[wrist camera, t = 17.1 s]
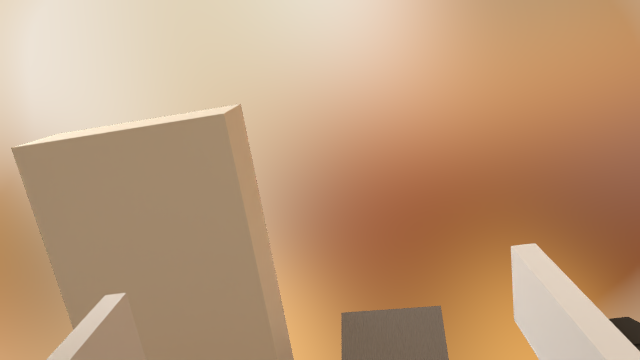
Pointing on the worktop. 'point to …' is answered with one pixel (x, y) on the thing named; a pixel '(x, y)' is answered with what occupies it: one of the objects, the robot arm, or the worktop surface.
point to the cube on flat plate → (394, 334)
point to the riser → (162, 232)
